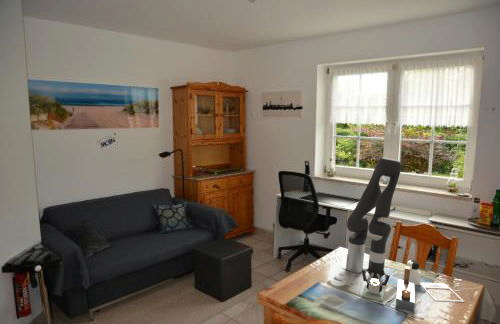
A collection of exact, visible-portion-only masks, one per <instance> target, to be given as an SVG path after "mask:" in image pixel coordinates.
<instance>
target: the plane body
mask: <svg viewBox="0 0 500 324" xmlns="http://www.w3.org/2000/svg"><path fill="white" fill-rule="evenodd" d="M404 267H405V273H404V272H403V273H404V279H399V278H398V279H397V287H396V300H395V309H397V310H402V311H405V312H411V313H415V306H416V305H415V303H416V297H415V296H416V294H415V293H416V291H415V289H416V288H415V286H416V285H415V283H414V282H410V281H409V276H410V267H407V265H406V266H404Z"/></svg>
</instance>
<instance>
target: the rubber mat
mask: <svg viewBox="0 0 500 324" xmlns="http://www.w3.org/2000/svg"><path fill="white" fill-rule="evenodd" d="M361 297H362V298H366V299H369V300H374V301H377V302H381V301H382V303H384V302H383V301H384V298H383V297H385V289H383V288H382V292H381V291H380V292H379V294H375V293H370V292H368V288H367V284H364V287H363V291H362V294H361Z"/></svg>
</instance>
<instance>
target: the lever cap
mask: <svg viewBox="0 0 500 324" xmlns="http://www.w3.org/2000/svg"><path fill="white" fill-rule="evenodd" d="M379 288H380V283H379V280H378V279H375V278H372V279H371V280H370V282H369V290H368V292H370V293H375V294H379Z"/></svg>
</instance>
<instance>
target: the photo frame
mask: <svg viewBox="0 0 500 324" xmlns="http://www.w3.org/2000/svg"><path fill="white" fill-rule="evenodd" d="M419 286H421V288H422V289H423V290H424V291H425V292H426V293H427V294H428V295H429V296H430V297H431V299H433V301H435V302H451V303H452V302H453V303H465V301H464V300H463V298H461V296H459V294H457V293H456V292H455V291H454V290H453V289H452V288H451V287H450V286H449V285H447V284H446V283H442V282H441V283H440V282H437V283H435V282H421V284H420V285H419ZM427 289H430V290H431V289H432V290H433V289H434V290H435V289H436V290H450V292H452V293H453V294H454V296H456V297H457V299H459V300H457V299H436V298H435V297H434V296H433V295H432V294H431V293H430V291H429V290H427Z"/></svg>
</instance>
